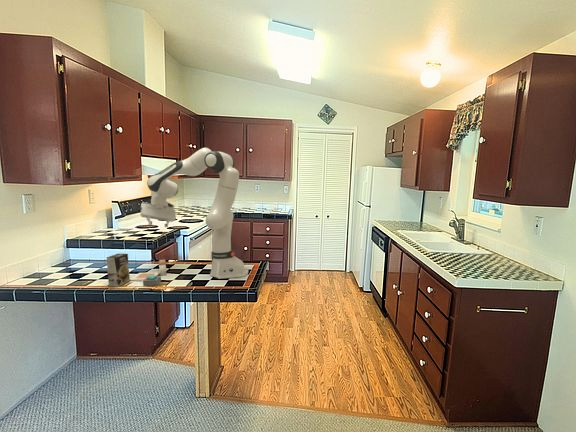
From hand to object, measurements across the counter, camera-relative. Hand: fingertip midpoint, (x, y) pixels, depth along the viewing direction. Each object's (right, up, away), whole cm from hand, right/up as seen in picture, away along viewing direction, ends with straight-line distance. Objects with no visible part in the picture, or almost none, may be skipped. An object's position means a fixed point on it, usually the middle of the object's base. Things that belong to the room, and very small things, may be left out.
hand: (158, 225), depth 186 cm
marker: (+3, -29, -1) cm, 30 cm away
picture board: (-6, -30, -4) cm, 31 cm away
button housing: (+3, -31, -15) cm, 35 cm away
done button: (+3, -29, -15) cm, 33 cm away
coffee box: (-15, -32, -15) cm, 38 cm away
